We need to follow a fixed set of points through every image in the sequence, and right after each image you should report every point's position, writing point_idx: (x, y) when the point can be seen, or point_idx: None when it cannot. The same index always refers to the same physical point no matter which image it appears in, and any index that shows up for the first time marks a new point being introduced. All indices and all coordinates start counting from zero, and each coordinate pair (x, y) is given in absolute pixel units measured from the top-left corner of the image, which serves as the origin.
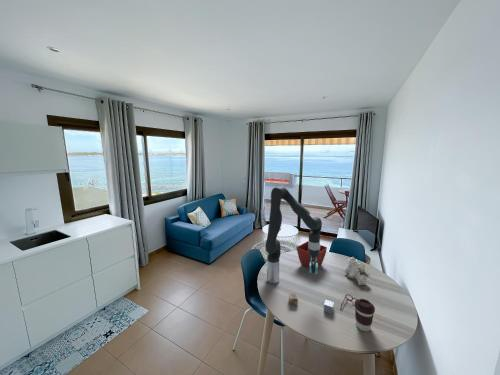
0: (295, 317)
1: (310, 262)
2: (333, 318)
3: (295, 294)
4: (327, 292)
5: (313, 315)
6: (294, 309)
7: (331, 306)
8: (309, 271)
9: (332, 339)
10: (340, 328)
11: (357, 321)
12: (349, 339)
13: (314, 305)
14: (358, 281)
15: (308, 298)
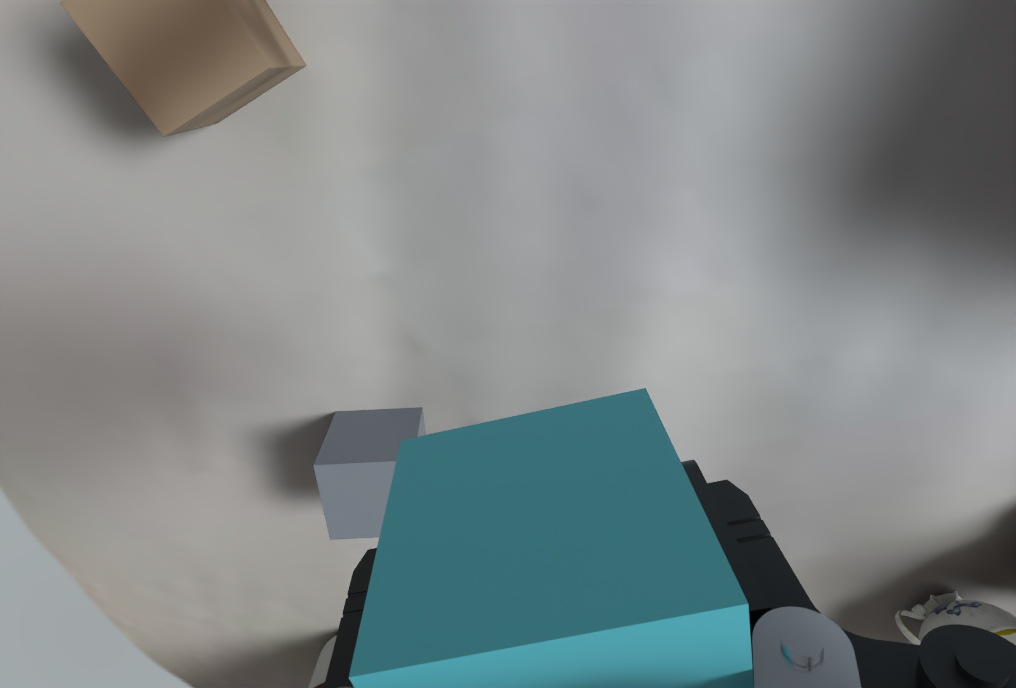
0: (8, 171)
1: (710, 630)
2: (305, 495)
3: (232, 57)
4: (671, 378)
5: (204, 340)
6: (117, 108)
7: (334, 529)
8: (395, 469)
9: (72, 528)
10: (232, 553)
11: (315, 685)
12: (176, 609)
13: (362, 309)
14: (943, 622)
15: (441, 210)
